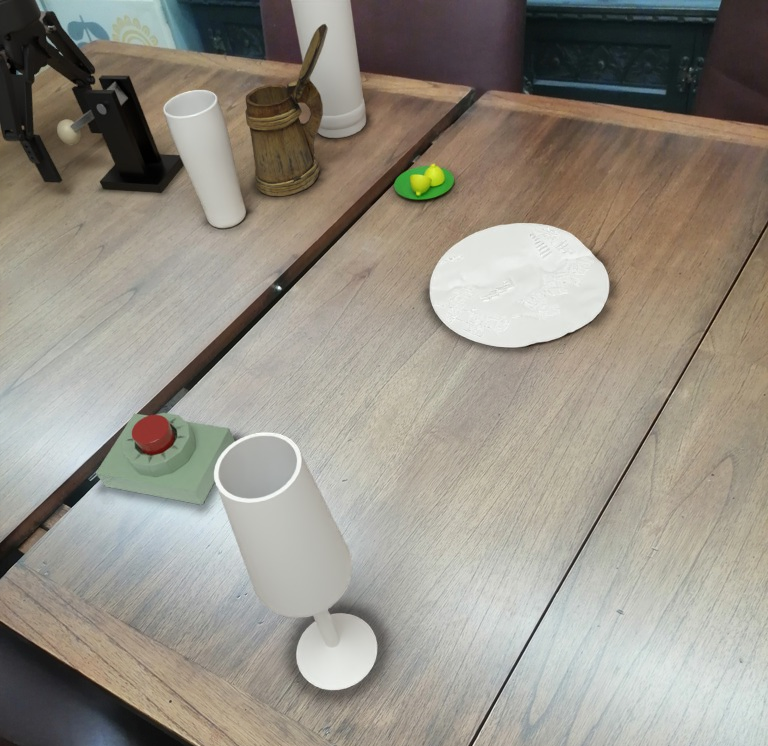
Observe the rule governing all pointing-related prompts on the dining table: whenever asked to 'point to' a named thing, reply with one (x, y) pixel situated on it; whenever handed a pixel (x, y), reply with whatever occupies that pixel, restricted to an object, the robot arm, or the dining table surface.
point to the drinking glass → (206, 154)
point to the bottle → (333, 64)
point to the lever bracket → (129, 140)
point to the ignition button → (153, 434)
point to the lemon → (424, 182)
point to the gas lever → (83, 120)
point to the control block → (167, 461)
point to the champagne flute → (294, 554)
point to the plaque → (518, 285)
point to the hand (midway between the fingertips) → (77, 156)
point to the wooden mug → (286, 128)
